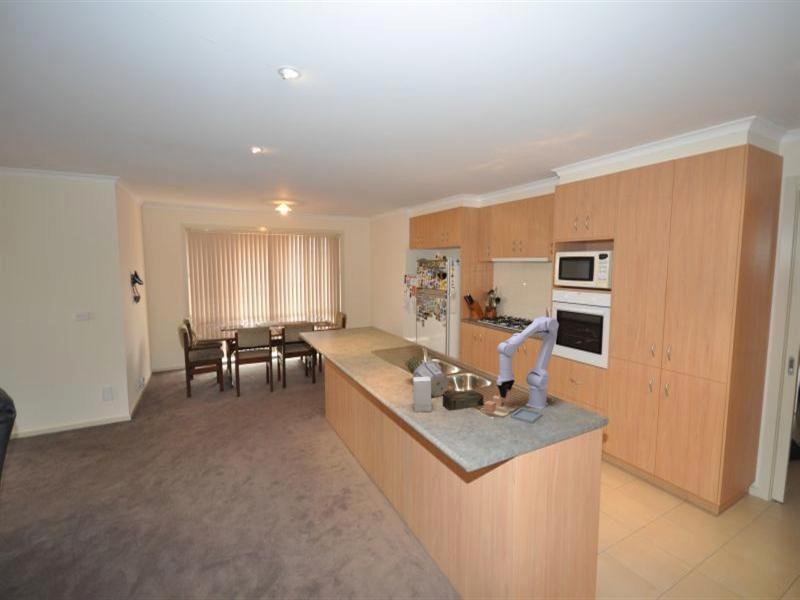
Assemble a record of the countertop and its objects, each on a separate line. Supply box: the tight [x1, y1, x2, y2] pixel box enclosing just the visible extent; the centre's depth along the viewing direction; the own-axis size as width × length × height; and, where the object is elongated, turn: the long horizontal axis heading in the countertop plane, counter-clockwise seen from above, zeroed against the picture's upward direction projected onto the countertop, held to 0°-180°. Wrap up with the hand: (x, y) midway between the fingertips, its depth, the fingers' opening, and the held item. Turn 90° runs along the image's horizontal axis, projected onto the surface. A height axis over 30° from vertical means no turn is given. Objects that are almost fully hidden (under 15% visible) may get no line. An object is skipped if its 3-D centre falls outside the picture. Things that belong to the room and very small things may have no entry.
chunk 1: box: [483, 400, 496, 413], centre depth 183 cm, size 4×4×4 cm
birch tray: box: [479, 402, 519, 419], centre depth 185 cm, size 16×12×1 cm
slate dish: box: [509, 407, 543, 425], centre depth 177 cm, size 12×10×2 cm
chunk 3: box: [498, 389, 512, 402], centre depth 184 cm, size 4×4×4 cm
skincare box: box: [412, 376, 432, 413], centre depth 186 cm, size 8×7×16 cm
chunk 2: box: [492, 394, 504, 407], centre depth 190 cm, size 4×4×4 cm
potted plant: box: [406, 356, 450, 398], centre depth 214 cm, size 18×18×30 cm
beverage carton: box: [442, 390, 484, 412], centre depth 190 cm, size 8×19×7 cm, turn 110°
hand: (505, 396), depth 184 cm, fingers closed on chunk 3, 4 cm apart
